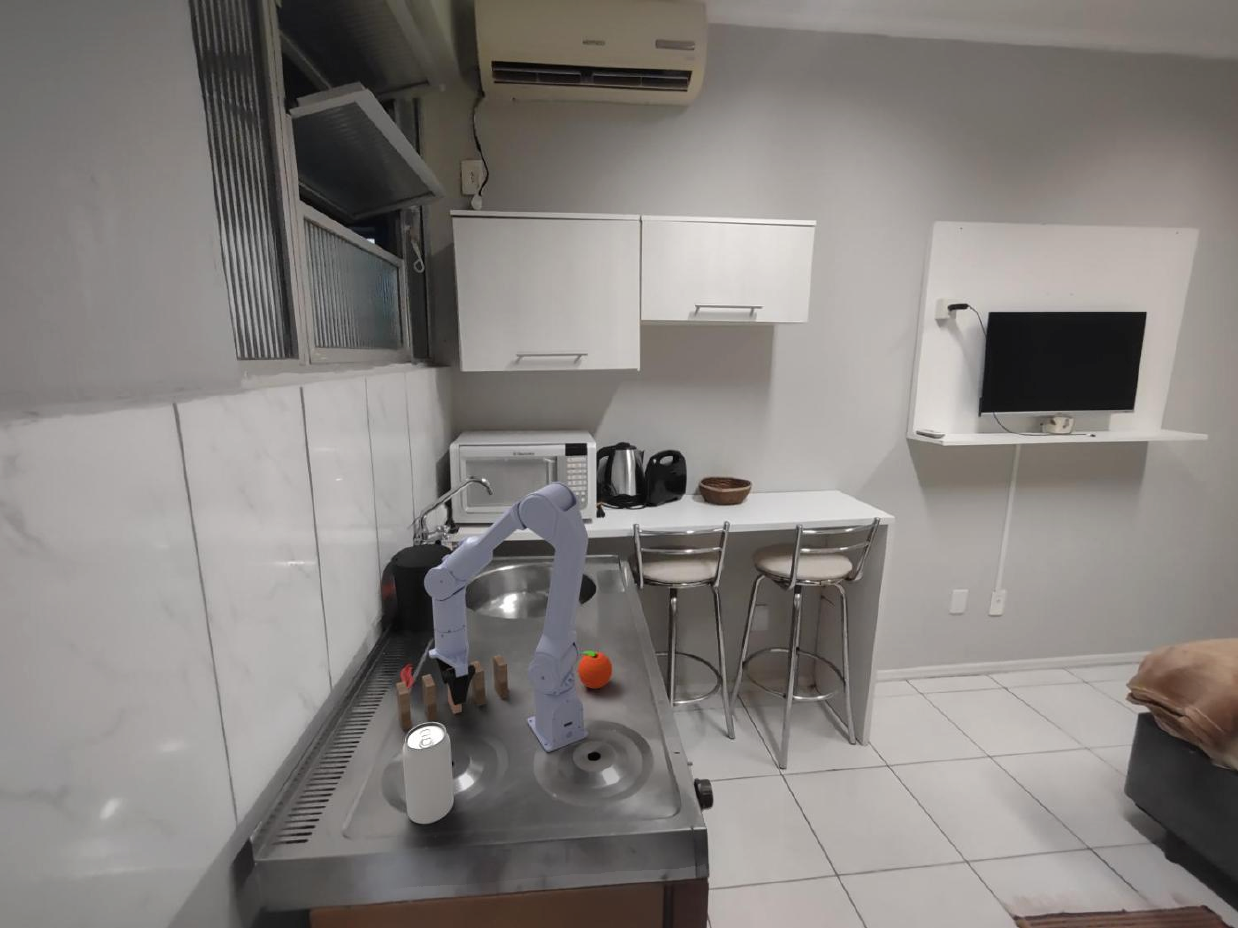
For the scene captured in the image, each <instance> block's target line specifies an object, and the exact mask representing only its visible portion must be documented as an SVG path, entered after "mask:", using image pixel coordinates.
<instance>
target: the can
mask: <svg viewBox="0 0 1238 928" xmlns="http://www.w3.org/2000/svg"><path fill="white" fill-rule="evenodd" d="M402 762H403V765H402V766H403V776H404V788H405V791H404V792H405V800H406V801H405V802H406V811H407V816H408V818H409V820H411V821H412V822H414V823H417V824H419V825H429V824H433V823H437V822H438V821H440V820H441V819H443V818H445V817H446V816H447V814H448V813H450V811H451V809H452V808H453V806H454V801H455V799H454V798H455V797H454V778H453V764H452V762H453V761H452V748H451V739H450V735H449V734H448V732H447V728H446V726H445V724H443V723H440V722H435V721H431V722H429V721H428V722H424V723H420V724H417V725H416V726H414V727H412V728H410V730H409V731H408V732H407V733H406V735H405V737H404V744H403V746H402Z"/></svg>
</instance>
